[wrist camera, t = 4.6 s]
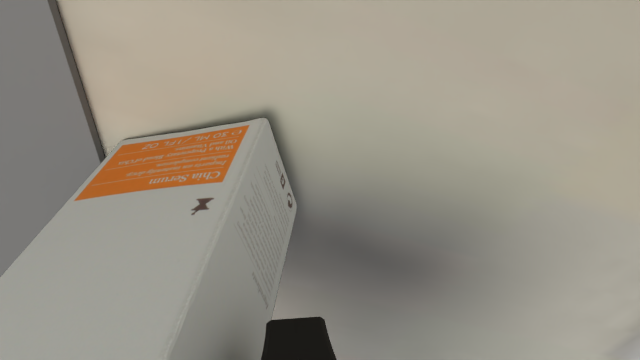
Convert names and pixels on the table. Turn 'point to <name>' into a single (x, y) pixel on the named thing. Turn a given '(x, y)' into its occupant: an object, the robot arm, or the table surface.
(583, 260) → the table surface
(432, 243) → the table surface
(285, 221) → the skincare box
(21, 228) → the mat
